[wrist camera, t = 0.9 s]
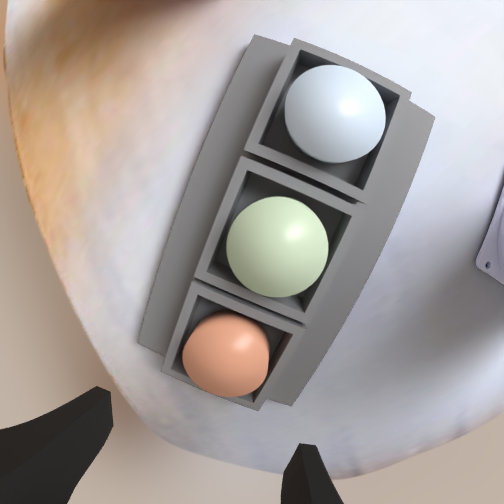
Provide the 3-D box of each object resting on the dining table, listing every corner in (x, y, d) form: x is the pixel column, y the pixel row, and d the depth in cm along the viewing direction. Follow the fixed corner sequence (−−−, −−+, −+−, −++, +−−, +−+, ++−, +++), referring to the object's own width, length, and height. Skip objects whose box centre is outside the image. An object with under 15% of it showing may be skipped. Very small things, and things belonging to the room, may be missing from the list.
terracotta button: (282, 328, 16) (282, 347, 14) (251, 386, 17) (248, 407, 15) (207, 297, 16) (197, 312, 14) (183, 358, 17) (173, 377, 15)
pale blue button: (384, 102, 13) (397, 93, 11) (354, 178, 14) (364, 178, 12) (304, 65, 13) (306, 50, 11) (270, 141, 14) (268, 135, 12)
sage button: (337, 217, 15) (345, 223, 13) (299, 295, 16) (302, 311, 14) (253, 181, 15) (249, 181, 13) (220, 262, 16) (212, 273, 14)
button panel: (428, 119, 15) (452, 111, 12) (291, 397, 20) (291, 426, 17) (256, 41, 15) (250, 17, 12) (143, 336, 20) (124, 358, 17)
